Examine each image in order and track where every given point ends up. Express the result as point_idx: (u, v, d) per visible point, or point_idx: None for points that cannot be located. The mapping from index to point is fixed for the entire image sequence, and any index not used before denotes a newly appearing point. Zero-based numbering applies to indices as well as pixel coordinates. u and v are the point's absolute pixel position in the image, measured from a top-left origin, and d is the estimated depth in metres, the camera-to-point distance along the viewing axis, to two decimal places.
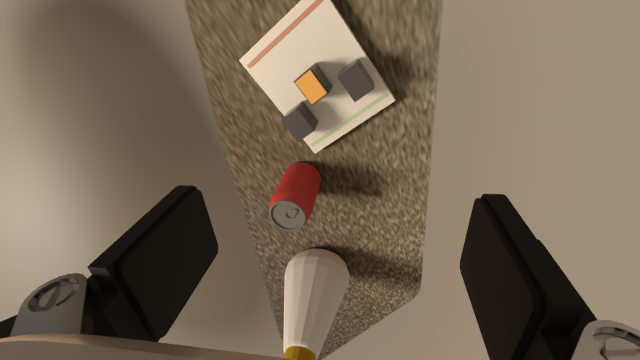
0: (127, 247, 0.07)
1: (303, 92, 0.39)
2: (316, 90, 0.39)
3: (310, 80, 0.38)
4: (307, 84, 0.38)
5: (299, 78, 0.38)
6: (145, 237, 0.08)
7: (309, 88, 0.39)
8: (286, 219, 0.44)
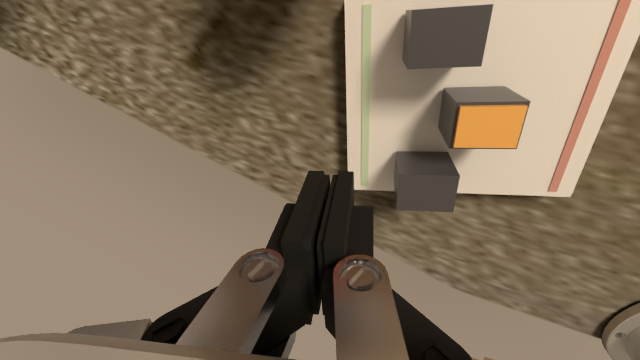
0: (306, 224, 0.08)
1: (494, 107, 0.17)
2: (474, 133, 0.18)
3: (500, 136, 0.18)
4: (499, 126, 0.17)
5: (523, 118, 0.17)
6: (312, 216, 0.08)
7: (490, 124, 0.18)
8: None
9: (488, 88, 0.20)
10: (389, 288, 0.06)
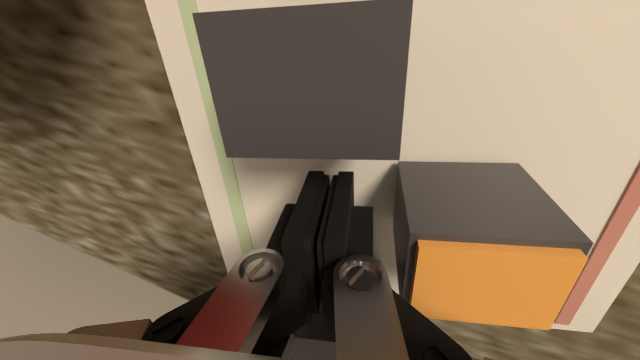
0: (306, 224, 0.08)
1: (503, 253, 0.07)
2: (454, 298, 0.08)
3: (513, 307, 0.08)
4: (514, 290, 0.07)
5: None
6: (312, 216, 0.08)
7: (490, 285, 0.07)
8: None
9: (486, 171, 0.10)
10: (389, 288, 0.06)
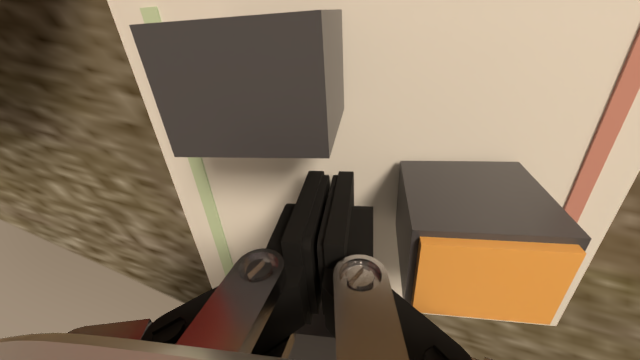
0: (305, 224, 0.08)
1: (503, 249, 0.07)
2: (456, 293, 0.08)
3: (514, 302, 0.08)
4: (514, 285, 0.07)
5: None
6: (312, 216, 0.08)
7: (491, 280, 0.07)
8: None
9: (487, 169, 0.10)
10: (389, 288, 0.06)
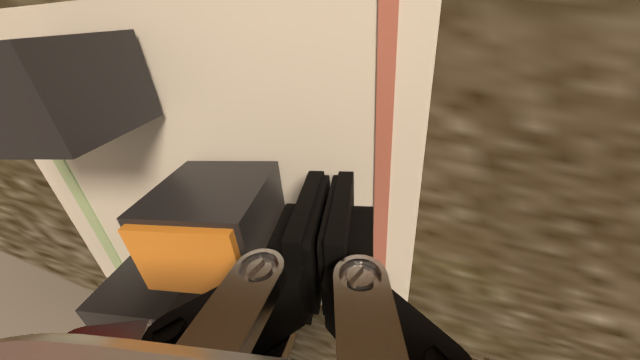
0: (306, 224, 0.08)
1: (176, 233, 0.09)
2: (167, 272, 0.09)
3: (210, 279, 0.09)
4: (200, 264, 0.09)
5: (237, 252, 0.09)
6: (312, 216, 0.08)
7: (183, 260, 0.09)
8: None
9: (242, 168, 0.11)
10: (389, 288, 0.06)
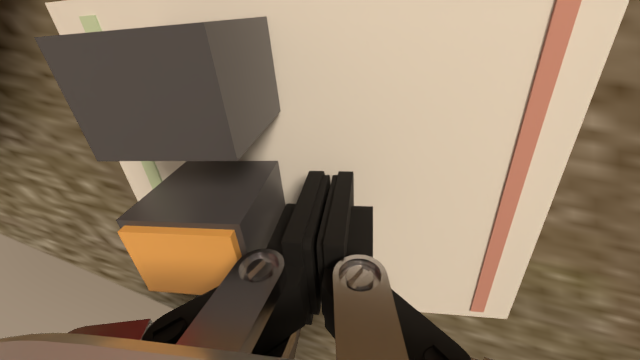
0: (306, 224, 0.08)
1: (177, 234, 0.08)
2: (168, 273, 0.09)
3: (212, 280, 0.09)
4: (202, 265, 0.09)
5: (238, 253, 0.09)
6: (313, 216, 0.08)
7: (184, 261, 0.09)
8: None
9: (242, 168, 0.11)
10: (389, 288, 0.06)
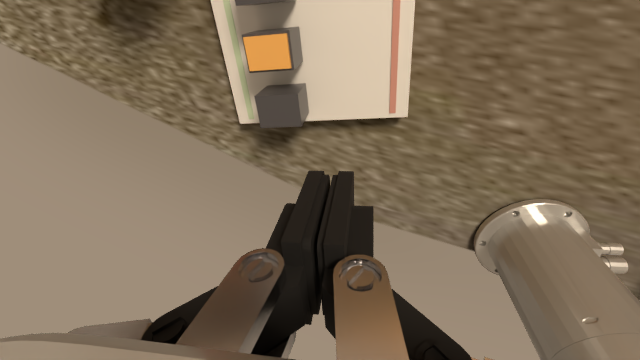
0: (306, 224, 0.08)
1: (266, 36, 0.23)
2: (259, 58, 0.24)
3: (277, 59, 0.24)
4: (274, 51, 0.24)
5: (288, 43, 0.23)
6: (312, 216, 0.08)
7: (267, 50, 0.24)
8: None
9: (284, 28, 0.26)
10: (389, 288, 0.06)
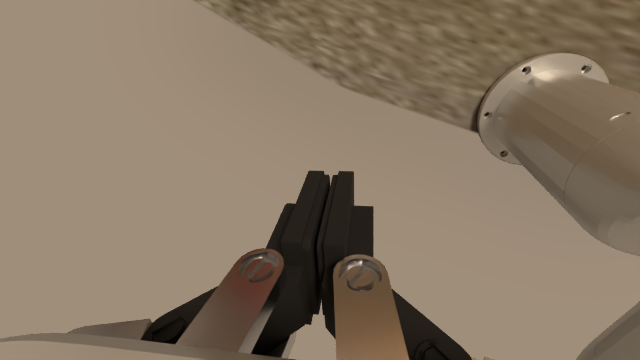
0: (306, 224, 0.08)
1: None
2: None
3: None
4: None
5: None
6: (312, 216, 0.08)
7: None
8: None
9: None
10: (389, 288, 0.06)
